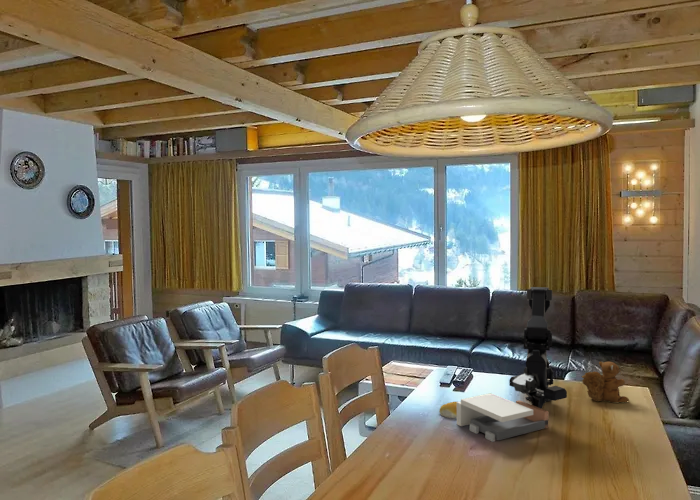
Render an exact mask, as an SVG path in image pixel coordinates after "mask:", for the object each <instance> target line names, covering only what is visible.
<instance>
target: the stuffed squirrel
mask: <svg viewBox="0 0 700 500" xmlns="http://www.w3.org/2000/svg"><path fill="white" fill-rule="evenodd" d="M598 364H599V367H600V368H601V373H599V372H598V371H588V372H585V373H584V374H583V375H581V378H582V379H581V381H582V384H583V385H584V386H586V388H587V396H588V398H591V400H592V401H594V400H595V402H597V401H601V402H607V401H610V402H609V403H613V402H627V401H629V402H630V400H629V397H627V396H623V395H622V396H621V395H620V389H619V388H620V387H623V386H625V383H626V381H625V380H624V379H623V378H619V379H618V378H617V377H616V376H618V374H619V373H620V376H621V375H623V372H622V370H621V369H620V367H619V365H617V364H616V363H615V362H612V361H604V362H603V361H599V363H598Z"/></svg>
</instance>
